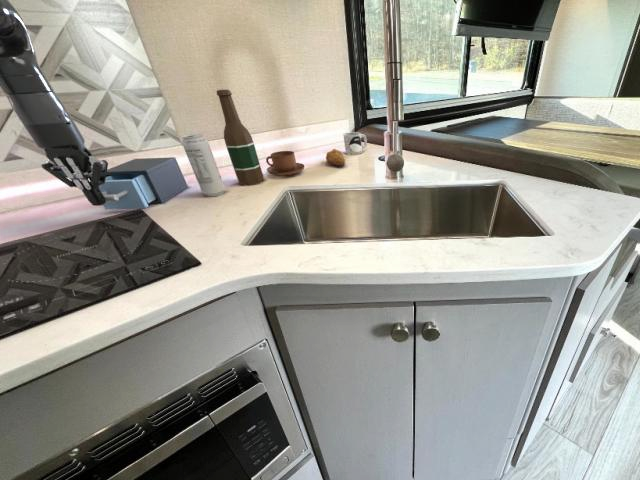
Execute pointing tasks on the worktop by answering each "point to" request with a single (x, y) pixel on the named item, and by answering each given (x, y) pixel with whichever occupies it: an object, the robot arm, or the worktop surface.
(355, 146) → the mug
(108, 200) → the light blue drawer
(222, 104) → the beer bottle
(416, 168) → the worktop surface
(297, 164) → the cup and saucer
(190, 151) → the energy drink can
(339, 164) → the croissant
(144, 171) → the blue drawer box
